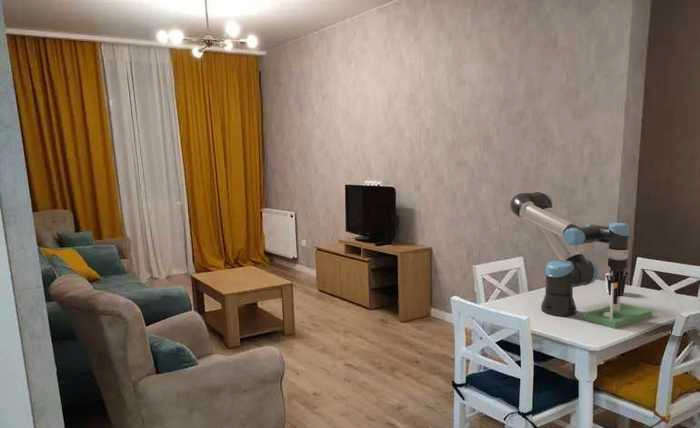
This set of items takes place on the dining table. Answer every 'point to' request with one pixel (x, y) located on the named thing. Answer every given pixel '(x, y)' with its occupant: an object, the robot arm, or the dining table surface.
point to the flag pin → (613, 285)
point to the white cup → (607, 284)
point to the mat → (618, 315)
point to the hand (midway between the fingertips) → (615, 310)
